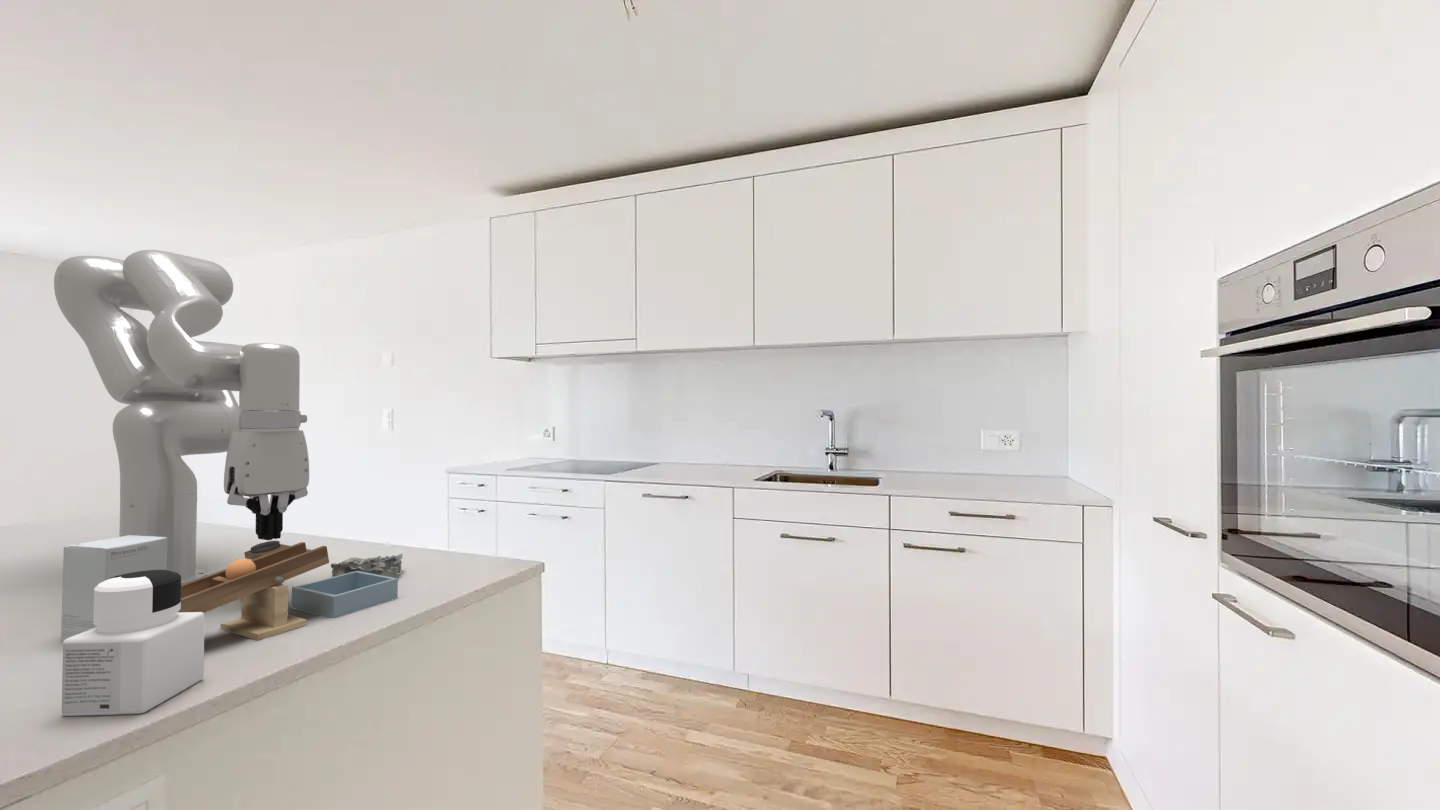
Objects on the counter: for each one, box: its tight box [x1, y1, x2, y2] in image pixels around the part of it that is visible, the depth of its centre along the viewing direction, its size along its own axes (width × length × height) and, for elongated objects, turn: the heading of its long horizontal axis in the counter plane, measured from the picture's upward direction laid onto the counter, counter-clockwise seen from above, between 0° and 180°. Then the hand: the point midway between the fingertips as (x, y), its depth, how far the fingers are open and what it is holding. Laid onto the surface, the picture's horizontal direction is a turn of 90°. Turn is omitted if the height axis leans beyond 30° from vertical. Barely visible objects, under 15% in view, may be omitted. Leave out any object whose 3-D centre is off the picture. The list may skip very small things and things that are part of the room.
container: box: [61, 570, 205, 717], centre depth 61 cm, size 8×8×13 cm
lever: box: [178, 540, 330, 614], centre depth 80 cm, size 17×21×3 cm
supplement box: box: [60, 535, 168, 642], centre depth 78 cm, size 7×7×13 cm
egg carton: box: [330, 553, 404, 578], centre depth 105 cm, size 11×8×4 cm
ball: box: [225, 558, 256, 579], centre depth 78 cm, size 3×3×3 cm
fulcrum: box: [219, 583, 307, 641], centre depth 81 cm, size 9×6×6 cm, turn 66°
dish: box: [291, 571, 399, 619], centre depth 91 cm, size 10×10×4 cm
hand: (269, 538), depth 91 cm, fingers closed
